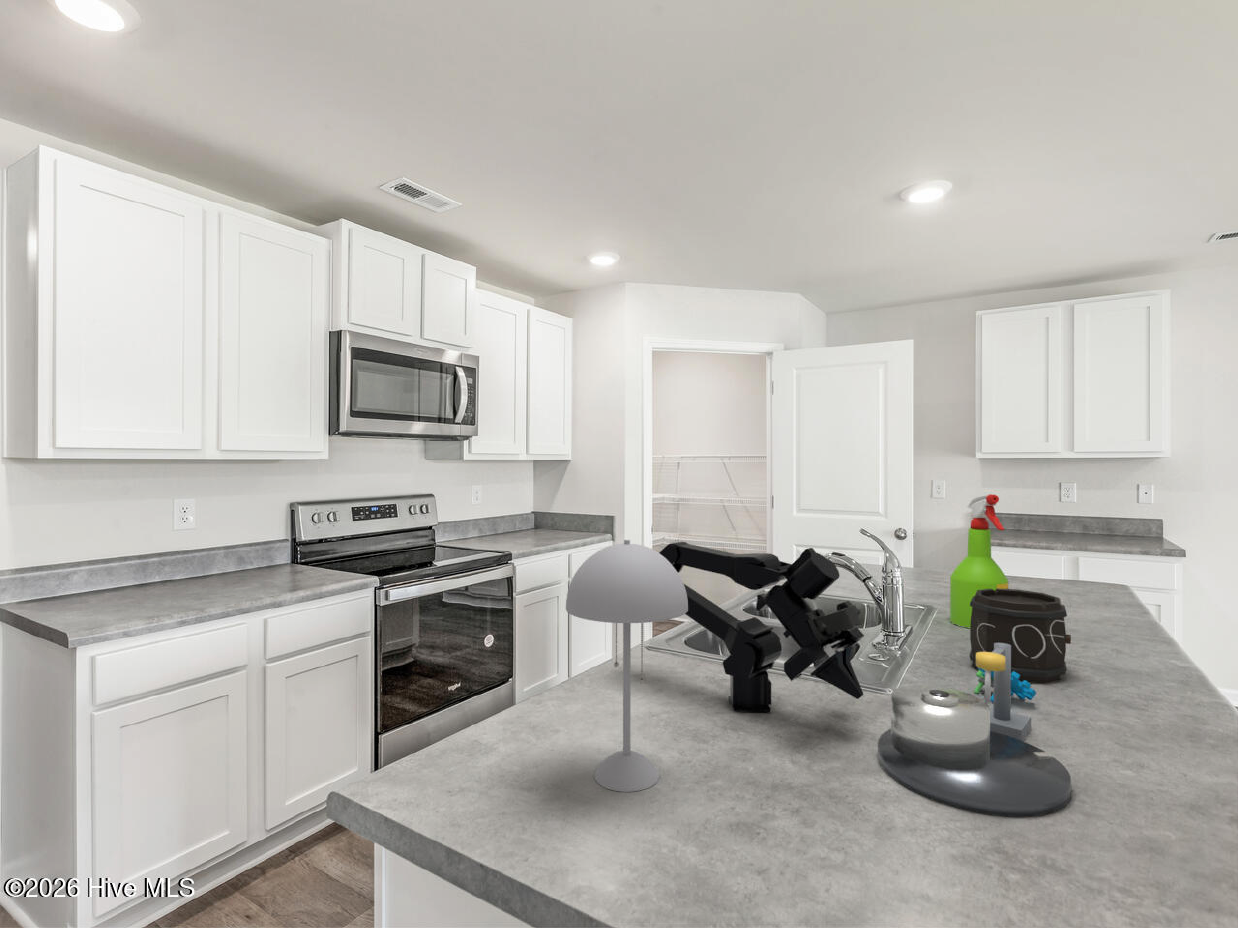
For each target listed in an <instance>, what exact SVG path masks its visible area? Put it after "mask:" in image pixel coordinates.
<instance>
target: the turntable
mask: <svg viewBox="0 0 1238 928" xmlns="http://www.w3.org/2000/svg"><path fill="white" fill-rule="evenodd" d="M877 743H878V746H877V747H878V749H877V751H878V752H877V753H878V754H877V757H878V762H879V764H880V766H881V768H882V769H883V771H884V772H885V773H886V774H887V775H888V777H891V778H892V779H893V780H894V781H895V782H897V783H898V784H900V785H901V786H903V787H905V788H906V789H908V790H910V791H912V792H914V793H915V794H918V795H920V796H922V797H924V796H925V797H924V798H927V797H928V798H927V799H929V798H930V799H929V800H932V799H933V800H932V801H934V800H935V802H937V801H938V802H937V803H940V802H941V803H940V804H943V803H944V804H943V805H946V804H947V806H949V805H950V807H953V808H956V807H957V809H960V808H961V810H964V809H965V811H969V810H970V811H969V812H972V813H973V812H974V813H978V814H985V815H991V816H1002V817H1017V818H1018V817H1021V818H1022V817H1023V818H1024V817H1037V816H1044V815H1048V814H1052V813H1055V812H1058V811H1060V810H1062V809H1063V808H1065V807H1066V806H1067V805H1068V804H1069V802H1070V800H1071V787H1072V786H1071V783H1072V782H1071V779H1072V778H1071V775H1070V773H1069V771H1068V769H1067V768H1066V767H1065V765H1063V764H1062V763H1061V762H1060V761H1059V760H1058V759H1056V758H1055V757H1054V756H1053V755H1052V754H1050V753H1049V752H1046V751H1044V750H1043V749H1041V748H1039V747H1038V746H1034V745H1033V744H1030V743H1028V742H1026V741H1024V740H1023V741H1021V740H1018V739H1016V738H1013V737H1010V736H1007V735H1004V734H1000V733H997V732H993V731H990V760H989V762H988V763H987V764H986V765H984V766H982V767H979V768H974V769H948V768H941V767H936V766H932V765H928V764H924V763H921V762H918V761H915V760H913V759H911V758H908V757H906V756H905V755H903V754H901V753H900V752H898V751H897V750H896V749H895V748H894V747H893V746H892V743H891V728H889V729H888V730H886V731H884V732H883V733H882V734H881V735H880V737H879V739H878V741H877Z"/></svg>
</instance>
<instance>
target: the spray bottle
mask: <svg viewBox="0 0 1238 928" xmlns="http://www.w3.org/2000/svg"><path fill="white" fill-rule="evenodd" d="M999 501H1000V497H999V496H998V495H996V494H992V493H991V494H984V495H979V496H976V497H974V498H973V499H972V500H971V501H969V503H968V505H967V508H969V509H971V518H972V519H971V521H970V528H968V533H967V534H968V537H967V538H968V539H967V555H966V556H965V558H964V559H962V561H960V563H958V565H957V566H956V567H955V569H954V570H953V572H952V573H951V574H950V583H949V584H950V585H949V587H950V595H949V598H950V599H949V600H950V602H949V605H950V606H949V607H950V608H949V616H950V617H949V622H950V621H951V622H952V623H954V624H957V625H960V626H964V627H969V628H970V622H971V614H972V607H971V606H970V602H971V600H972V597H973V596H975V594H976V592H977V590H983V589H993V590H994V591H995V590H996V589H1009V580H1008V578H1007V576H1006V575H1005V573H1004V571H1003V570H1002V569H1001V567H1000V566H999V564H997V562H996V561H995V560H994V558H993V557H992V535H991V534H992V531H991V530H992V529H990V527H989V526H990V524H989V521H990V522H991V523H992V524H993V526H994V527H995V528H996V529H997V530H999V531H1005V528H1004V526H1003V524H1002V523H1001V522H1000V519H999V518H998V516H996V509H995V506H997V504H998V503H999ZM987 519H988V520H989V521H988V520H987ZM951 622H950V623H951ZM952 623H951V624H952ZM954 624H953V625H954Z"/></svg>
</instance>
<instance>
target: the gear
mask: <svg viewBox="0 0 1238 928" xmlns="http://www.w3.org/2000/svg"><path fill="white" fill-rule="evenodd" d="M978 669H979V670H978ZM978 669H977V670H978V671H977V673H976V674H975V675H976V676H975V677H977V678H978V679H977V681H978V684H977V686H976V687H975V689H974V690H973V693H974V694H976V695H978V694H979V693H980V691H981V690H982V688H983V687H985V670H984V669H981V668H978ZM1019 677H1020V675H1019V674H1018V673H1016V672H1014V671H1013V672H1012V673H1011V696H1014V695H1016V696H1017V698H1018V699H1019V700H1025V699H1028V700H1029V701H1032V699H1033V698H1034V697H1035V696H1036V694H1037V691H1036V690H1035V689H1034V688H1032V683H1029V682H1027V681H1026V680H1024V681H1023V682H1021V681H1019V680H1018V679H1019ZM991 688H992V689H994V671H991ZM991 703H993V704H994V692H993V693H992V694H991Z"/></svg>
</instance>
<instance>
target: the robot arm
mask: <svg viewBox="0 0 1238 928" xmlns="http://www.w3.org/2000/svg"><path fill="white" fill-rule="evenodd" d="M658 553H660V554H661V555H662V556H664V557H665V558H666V559H667V560H668V561H669V562H670V563H671V564H672V565H673V567H674V568H675V569H676V571H677V572H678V574H679V573H680V572H681V571H682V569H683V568H684V566H685V567H689V568H694V569H698V570H702V571H706V572H710V573H714V574H718V575H723V576H725V577H728V578H730V579H731V580H732V581H733V582H734V583H735V584H738V585H740V586H743V587H744V588H747V589H749V590H752V591H757V590H761V589H765V588H768V587H771V588H770V589H769V590H768V591H767V592H766V593H763V592H762V593H760V594H757V595H756V597H757V598H756V599H757V600H756V604H755V610H756V611H757V612H760V611H763V610H767V609H770V611H771V612H772V613H773V615H774V616H775V617H776V619H777V620H778V621H779V623H780V624H781V625H782V626H783V628H784V629H785V631H784V632H783V633H782V635H783V636H784V637H785V638H786V639H790V638H792V639H793V641H794V642H795V643H796V645H797V646H798V647H799V648H800V649H798V650H797V651H796V652H795V653H794V654H793V655H791V656H790V657H789V658H788V659H787V660H785V662H784V663H783V672H784V673H785V675H786V676H787V677H788V679H789V680H790V681H791V682H793V681H794V680H797V679H798V678H800V677H801V676H802V673H803V672H805V671H806V670H807V669H809V667H810V666H811V665H812V664H813V665H812V667H813V668H814V670H813V671H811V673H810V674H809V675H810V676H811V677H816V678H818V679H820V680H821V681H823V682H826V683H828V684H830V685H832V686H833V687H835V688H836V689H839V690H841V691H842V692H844V693H846V694H848V695H850V696H852V698H854V699H860V698H862V697H863V696H864V691H863V690H862V687H861V685H860V682H859V680H858V678H857V675H856V673H855V670H854V667H853V665H852V662H851V655H852V650H853V646H854V645H856V644H857V643H858V642H859V641H861V640H862V639H863V638H864V637H865V634H863V633H862V631H861V630H860V629H859V628H858V627H857V626H861V625H862V622H861V620H860V614H861V612H862V611H861V610H860V609H859V608H857V607H856V604H855V605H854V604H853V603H852V602H850V600H846V601H843V602H840V603H837V604H836V610H835V611H831V612H830V613H827V614H826V613H824V611H823V610H822V609H820V608H816V609H813V607H812V606H811V605H810V604H809V602H808V601H807V600H806V599H809V600H816V599H817V598H818V597H820V596H821V595H822V594H823V593H824V592H825V591H827V590H828V588H830V586H832V585H833V584H834V583H835V582H836V581H838V579H839V578H840V572H839V569H838V568H837V566H836V565H835V564H834V562H832V560H830V559H828V558H827V557H825V556H824V555H823V554H821V553H818V552H816V550H815V549H814V548H813V547H810V548H805V549H804V550H803V551H802V552H801V553H800V555H799V556H798V557H797V559H796V560H795V561H794V562H793V563H789V562H785V561H781V560H780V559H779V557H778V556H777V555H775V554H774V553H769V552H767V553H764V552H762V553H760V552H757V553H752V552H751V553H735V552H734V553H733V552H728V551H724V550H718V549H715V548H711V547H710V548H709V547H704V546H700V545H695V544H690V543H688V542H686V541H678V542H670V543H668V544H667V545H666V546H664V547H663V548H662V549H661V551H658ZM783 580H786V581H785V582H784V583H782V584H781V585H780V584H778V583H780V581H783ZM683 584H684V586H685V589H686V593H687V599H688V611H687V612H686V613H685V614H684V615H686V616H687V617H688V618H690V619H692V620H693V621H694V622H696V623H697V624H699V625H700V626H701V627H702V628H705V629H706V630H707V631H708V632H710V633H711V634H712V635H714V636H715V637H717V638H718V639H720V640H721V641H722V642H723V643H724V644H725V646H726V649H727V650H728V653H729V654H730V655H729V656H728V657H726V658H725V659H724V660H723V662H722V666H723V671H724V673H725V675H728V676H729V678H730V687H729V691H730V692H729V695H728V701H729V703H730V706H731V708H732V711H733V712H737V713H738V712H748V713H751V712H752V713H754V712H755V713H756V712H760V713H761V712H763V713H764V712H765V713H768V712H769V713H770V712H771V711H772V710H771V707H770V706H771V705H772V681H771V680H770V677H769V672H768V671H767V670H772V669H773V667H774V664H775V662H776V661H777V660H779V658H780V656H781V655H782V649H783V647H782V643H781V639H780V637H779V636H778V634H777V633H776V632H774V627H772V626H769V625H767V624H765V623H763V621H761V620H760V619H759V618H757V617H755V616H754V617H750V618H747V619H745V620H740V619H738V618H736V617H735V616H733V615H732V614H730V613H729V612H727V611H725V609H723V608H721V607H720V606H719V605H716V603H714V602H713V601H711V600H710V599H708V598H706V597H705V596H703V595H702V594H701V593H699V592H698V591H696V590H694V589H693V588H691V587H690V586H688V585H686V584H685V583H684V582H683Z"/></svg>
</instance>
